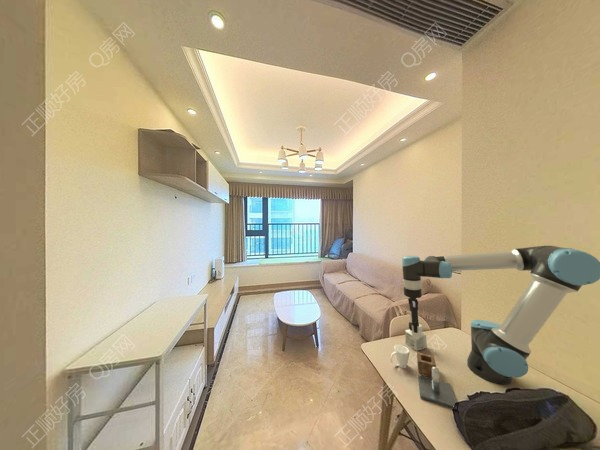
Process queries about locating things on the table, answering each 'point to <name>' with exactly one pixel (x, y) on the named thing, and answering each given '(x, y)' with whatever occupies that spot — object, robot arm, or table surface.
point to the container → (415, 342)
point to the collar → (425, 364)
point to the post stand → (436, 390)
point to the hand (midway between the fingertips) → (414, 331)
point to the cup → (401, 355)
